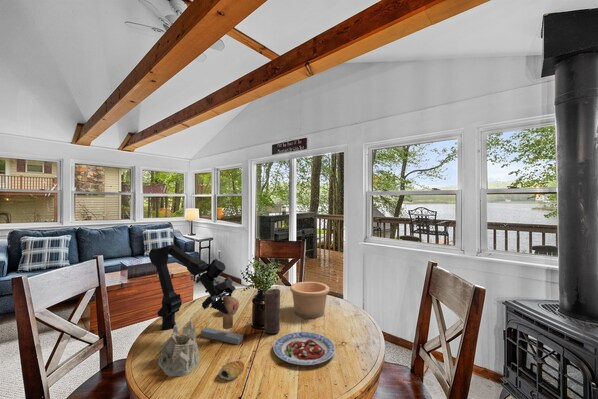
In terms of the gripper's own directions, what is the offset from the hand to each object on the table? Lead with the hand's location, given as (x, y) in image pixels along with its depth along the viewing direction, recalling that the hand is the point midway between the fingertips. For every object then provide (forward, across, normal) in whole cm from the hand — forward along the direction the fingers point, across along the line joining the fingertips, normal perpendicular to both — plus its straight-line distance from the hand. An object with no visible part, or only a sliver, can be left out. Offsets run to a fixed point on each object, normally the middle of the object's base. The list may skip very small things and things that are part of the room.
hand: (230, 311), depth 124 cm
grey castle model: (+3, -23, +15) cm, 27 cm away
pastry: (+19, -21, -1) cm, 28 cm away
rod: (+4, 0, +6) cm, 7 cm away
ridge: (+6, 0, +12) cm, 13 cm away
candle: (+19, +13, -1) cm, 23 cm away
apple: (-3, +25, +21) cm, 33 cm away
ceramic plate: (+33, +3, -15) cm, 37 cm away
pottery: (+26, +42, -8) cm, 50 cm away
